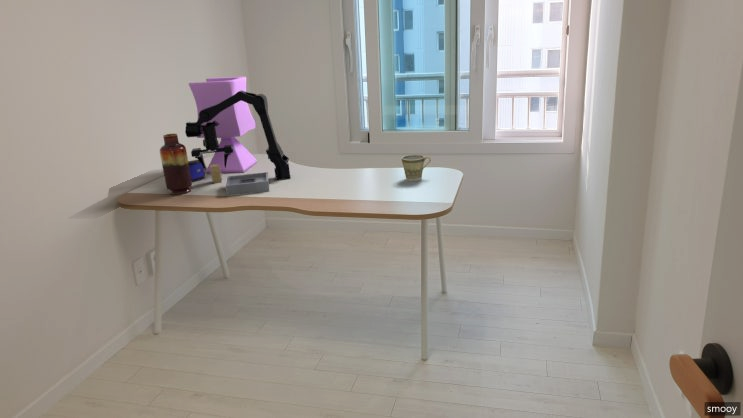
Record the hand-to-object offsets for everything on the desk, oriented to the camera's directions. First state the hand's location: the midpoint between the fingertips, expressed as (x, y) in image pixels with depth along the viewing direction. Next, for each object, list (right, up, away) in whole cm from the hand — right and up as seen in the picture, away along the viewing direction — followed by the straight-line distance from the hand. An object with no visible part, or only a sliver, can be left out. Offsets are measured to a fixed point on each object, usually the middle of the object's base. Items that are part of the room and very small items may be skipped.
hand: (215, 168), depth 257 cm
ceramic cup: (+94, -6, -14) cm, 95 cm away
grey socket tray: (+18, -10, -12) cm, 24 cm away
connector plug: (0, -6, +2) cm, 7 cm away
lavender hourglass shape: (+1, +2, +26) cm, 27 cm away
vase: (-13, -12, -11) cm, 20 cm away
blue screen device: (-15, -6, +7) cm, 18 cm away
